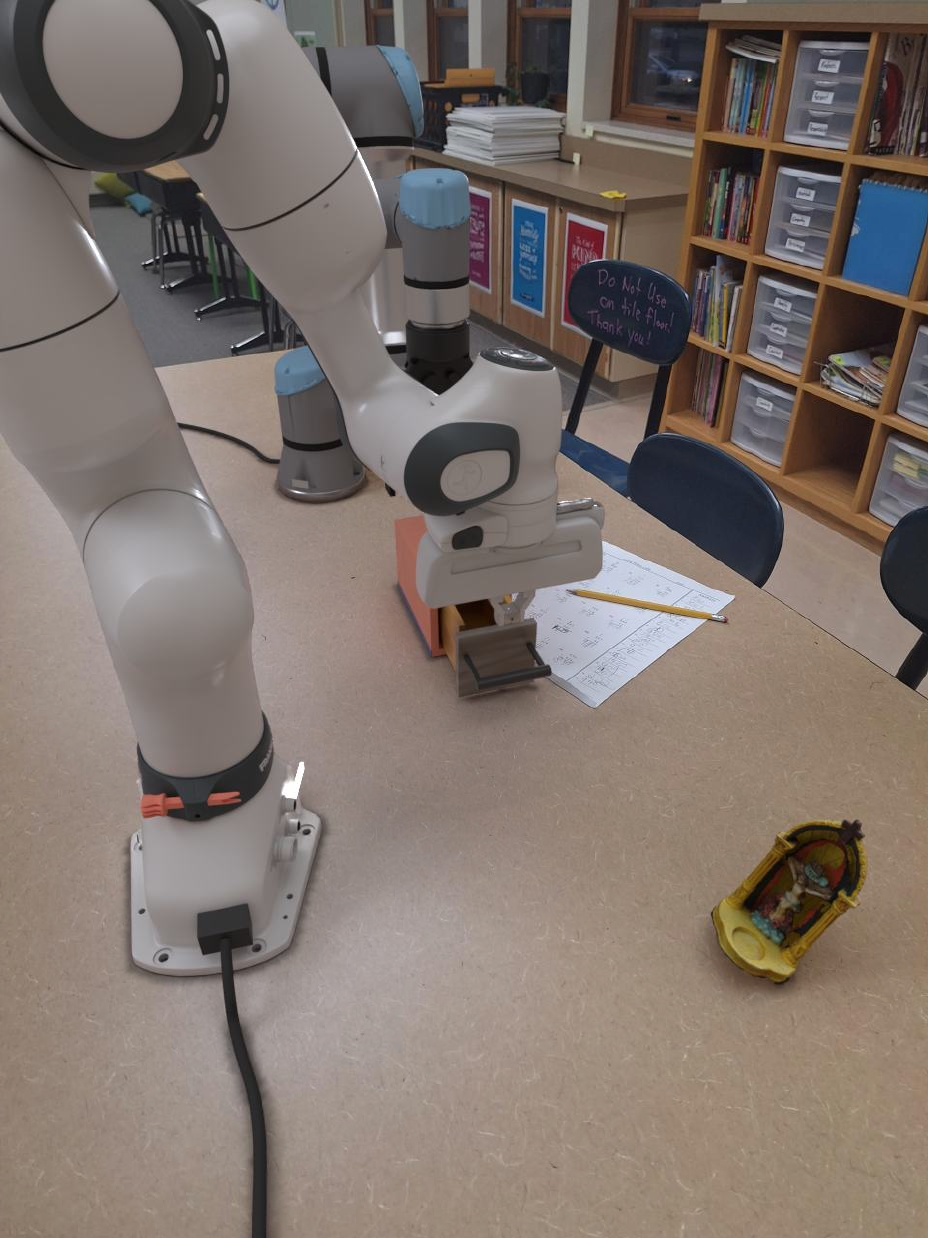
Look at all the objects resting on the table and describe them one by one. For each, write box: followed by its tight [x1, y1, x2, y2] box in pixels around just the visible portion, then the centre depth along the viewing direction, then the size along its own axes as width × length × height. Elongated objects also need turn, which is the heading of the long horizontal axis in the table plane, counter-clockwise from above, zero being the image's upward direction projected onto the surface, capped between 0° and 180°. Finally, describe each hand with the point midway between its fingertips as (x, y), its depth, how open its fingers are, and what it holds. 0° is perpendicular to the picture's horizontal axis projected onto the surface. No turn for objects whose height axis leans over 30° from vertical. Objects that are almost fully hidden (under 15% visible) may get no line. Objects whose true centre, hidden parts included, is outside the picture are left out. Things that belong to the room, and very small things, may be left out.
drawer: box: [438, 595, 553, 698], centre depth 106 cm, size 22×10×9 cm, turn 18°
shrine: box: [710, 818, 868, 986], centre depth 72 cm, size 12×8×15 cm
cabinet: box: [393, 514, 513, 658], centre depth 116 cm, size 18×11×11 cm, turn 18°
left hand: (509, 621), depth 95 cm, fingers closed
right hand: (440, 484), depth 113 cm, fingers open, 13 cm apart
